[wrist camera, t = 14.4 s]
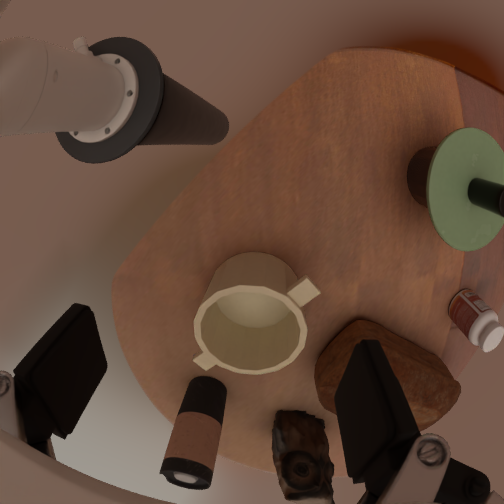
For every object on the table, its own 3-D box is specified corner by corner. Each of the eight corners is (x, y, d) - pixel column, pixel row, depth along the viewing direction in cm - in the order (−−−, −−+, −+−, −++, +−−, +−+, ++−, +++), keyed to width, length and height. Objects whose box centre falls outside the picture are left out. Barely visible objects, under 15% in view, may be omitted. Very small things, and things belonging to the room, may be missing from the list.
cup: (399, 155, 31) (434, 160, 23) (446, 141, 29) (486, 144, 21) (414, 215, 34) (449, 235, 25) (458, 197, 32) (496, 212, 23)
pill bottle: (451, 324, 39) (480, 363, 29) (444, 302, 38) (476, 341, 28) (476, 304, 38) (508, 338, 27) (470, 281, 36) (506, 314, 26)
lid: (400, 174, 24) (435, 184, 17) (475, 106, 20) (514, 103, 13) (453, 270, 26) (484, 297, 20) (516, 202, 23) (550, 216, 16)
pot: (180, 299, 40) (159, 338, 32) (273, 218, 35) (274, 244, 26) (240, 351, 43) (232, 395, 34) (333, 286, 38) (348, 325, 29)
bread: (404, 401, 47) (420, 445, 35) (300, 363, 43) (305, 422, 32) (450, 357, 42) (476, 399, 31) (354, 301, 39) (378, 357, 27)
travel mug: (235, 386, 46) (220, 483, 28) (216, 405, 49) (198, 493, 30) (197, 368, 45) (167, 465, 27) (181, 389, 48) (152, 476, 29)
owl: (273, 406, 48) (270, 497, 29) (338, 405, 47) (352, 492, 29) (270, 437, 53) (266, 514, 34) (325, 436, 52) (333, 511, 33)
